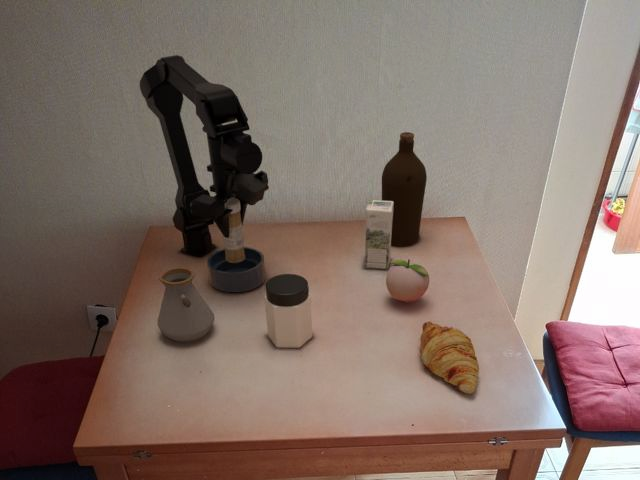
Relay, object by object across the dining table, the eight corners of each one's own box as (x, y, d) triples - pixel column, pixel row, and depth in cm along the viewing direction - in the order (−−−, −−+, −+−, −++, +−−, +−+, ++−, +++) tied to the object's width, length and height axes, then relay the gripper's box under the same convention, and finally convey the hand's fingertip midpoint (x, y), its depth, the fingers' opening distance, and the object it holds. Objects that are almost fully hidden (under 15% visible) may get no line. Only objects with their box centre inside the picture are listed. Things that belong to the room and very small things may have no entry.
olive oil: (429, 239, 154) (440, 134, 137) (398, 252, 150) (405, 145, 133) (401, 225, 161) (408, 124, 144) (370, 237, 156) (374, 133, 139)
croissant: (482, 409, 111) (509, 375, 106) (440, 399, 106) (466, 363, 102) (435, 344, 125) (456, 311, 121) (396, 332, 120) (417, 298, 116)
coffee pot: (156, 322, 128) (141, 256, 118) (210, 312, 131) (200, 247, 121) (171, 381, 113) (154, 312, 103) (231, 369, 116) (221, 299, 106)
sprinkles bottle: (238, 252, 140) (232, 194, 131) (249, 259, 137) (244, 201, 128) (221, 258, 138) (213, 200, 129) (232, 266, 135) (225, 207, 126)
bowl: (199, 286, 139) (195, 265, 136) (232, 262, 147) (229, 242, 144) (244, 299, 134) (242, 278, 131) (276, 274, 143) (274, 254, 139)
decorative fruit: (377, 307, 131) (379, 264, 124) (391, 289, 136) (394, 247, 130) (419, 316, 128) (424, 273, 121) (431, 298, 133) (436, 255, 127)
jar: (318, 342, 122) (316, 289, 114) (280, 353, 119) (276, 299, 111) (299, 321, 128) (296, 268, 120) (263, 331, 125) (258, 278, 117)
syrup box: (390, 259, 147) (394, 199, 137) (388, 270, 143) (391, 210, 133) (367, 257, 148) (368, 198, 138) (364, 269, 144) (365, 209, 134)
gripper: (229, 182, 114) (238, 259, 124) (283, 151, 126) (287, 224, 136) (182, 172, 118) (195, 247, 129) (238, 143, 130) (246, 214, 140)
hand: (233, 233), depth 133 cm, fingers closed on sprinkles bottle, 4 cm apart
